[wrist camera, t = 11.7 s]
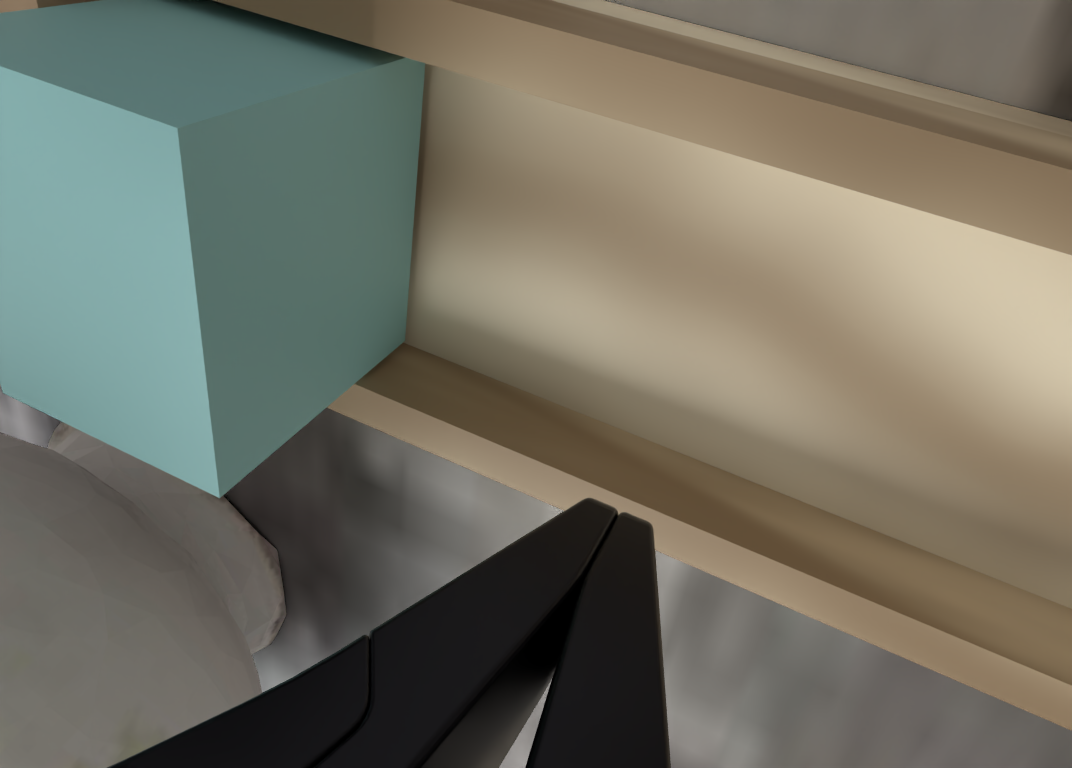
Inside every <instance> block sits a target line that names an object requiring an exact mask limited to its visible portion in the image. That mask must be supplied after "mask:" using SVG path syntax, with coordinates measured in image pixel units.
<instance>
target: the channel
mask: <svg viewBox="0 0 1072 768" xmlns="http://www.w3.org/2000/svg"><path fill="white" fill-rule="evenodd" d="M91 1H99V0H0V13H4V12H12V11H20V10H28V9H36V8H44V7H51V6H59V5H67V4H75V3H83V2H91ZM214 1H217V2H220V3H224V4H227V5H231V6H234V7H237V8H241V9H244V10H247V11H251V12H254V13H257V14H261V15H264V16H268V17H271V18H274V19H278V20H281V21H284V22H288V23H291V24H295V25H298V26H301V27H305V28H308V29H311V30H315V31H318V32H321V33H325V34H328V35H332V36H335V37H338V38H342V39H345V40H348V41H352V42H355V43H358V44H362V45H365V46H369V47H372V48H375V49H379V50H382V51H385V52H389V53H392V54H396V55H399V56H402V57H406V58H409V59H412V60H416V61H419V62H422V63H425V74H424V88H423V102H422V115H421V129H420V143H419V156H418V170H417V184H416V197H415V211H414V225H413V238H412V252H411V265H410V279H409V293H408V306H407V320H406V334H405V341H404V342H403V343H402V344H401V345H399V346H398V347H397V348H396V349H395V350H394V351H392V352H391V353H390V354H389V355H388V356H387V357H385V358H384V359H383V360H382V361H381V362H379V363H378V364H377V365H376V366H375V367H374V368H372V369H371V370H370V371H369V372H368V373H367V374H365V375H364V376H363V377H362V378H361V379H359V380H358V381H357V382H356V383H355V384H354V385H352V386H351V387H350V388H349V389H348V390H347V391H345V392H344V393H343V394H342V395H341V396H339V397H338V398H337V399H336V400H335V401H334V402H332V403H331V404H330V405H329V406H328V407H327V408H329V409H331V410H333V411H336V412H338V413H340V414H342V415H345V416H347V417H349V418H352V419H354V420H356V421H359V422H361V423H363V424H365V425H368V426H370V427H372V428H375V429H377V430H379V431H382V432H384V433H386V434H389V435H391V436H393V437H395V438H398V439H400V440H402V441H405V442H407V443H409V444H412V445H414V446H416V447H419V448H421V449H423V450H425V451H428V452H430V453H432V454H435V455H437V456H439V457H442V458H444V459H446V460H449V461H451V462H453V463H455V464H458V465H460V466H462V467H465V468H467V469H469V470H472V471H474V472H476V473H479V474H481V475H483V476H485V477H488V478H490V479H492V480H495V481H497V482H499V483H502V484H504V485H506V486H509V487H511V488H513V489H515V490H518V491H520V492H522V493H525V494H527V495H529V496H532V497H534V498H536V499H539V500H541V501H543V502H545V503H548V504H550V505H552V506H555V507H557V508H559V509H562V510H564V511H565V510H567V509H568V508H570V507H572V506H573V505H575V504H576V503H578V502H580V501H581V500H583V499H585V498H593V499H596V500H598V501H601V502H603V503H605V504H608V505H610V506H612V507H615V508H616V509H617V511H618V515H619V514H620V513H621V512H627V513H629V514H631V515H634V516H636V517H639V518H641V519H643V520H646V521H648V522H650V523H651V524H652V526H653V530H654V544H655V550H656V551H659V552H661V553H663V554H665V555H668V556H670V557H672V558H675V559H677V560H679V561H682V562H684V563H686V564H689V565H691V566H693V567H695V568H698V569H700V570H702V571H705V572H707V573H709V574H712V575H714V576H716V577H719V578H721V579H723V580H725V581H728V582H730V583H732V584H735V585H737V586H739V587H742V588H744V589H746V590H749V591H751V592H753V593H755V594H758V595H760V596H762V597H765V598H767V599H769V600H772V601H774V602H776V603H779V604H781V605H783V606H785V607H788V608H790V609H792V610H795V611H797V612H799V613H802V614H804V615H806V616H809V617H811V618H813V619H815V620H818V621H820V622H822V623H825V624H827V625H829V626H832V627H834V628H836V629H839V630H841V631H843V632H845V633H848V634H850V635H852V636H855V637H857V638H859V639H862V640H864V641H866V642H869V643H871V644H873V645H875V646H878V647H880V648H882V649H885V650H887V651H889V652H892V653H894V654H896V655H899V656H901V657H903V658H905V659H908V660H910V661H912V662H915V663H917V664H919V665H922V666H924V667H926V668H929V669H931V670H933V671H935V672H938V673H940V674H942V675H945V676H947V677H949V678H952V679H954V680H956V681H959V682H961V683H963V684H965V685H968V686H970V687H972V688H975V689H977V690H979V691H982V692H984V693H986V694H989V695H991V696H993V697H995V698H998V699H1000V700H1002V701H1005V702H1007V703H1009V704H1012V705H1014V706H1016V707H1019V708H1021V709H1023V710H1025V711H1028V712H1030V713H1032V714H1035V715H1037V716H1039V717H1042V718H1044V719H1046V720H1049V721H1051V722H1053V723H1055V724H1058V725H1060V726H1062V727H1065V728H1067V729H1069V730H1072V121H1068V120H1064V119H1060V118H1056V117H1052V116H1049V115H1045V114H1041V113H1037V112H1033V111H1029V110H1025V109H1021V108H1018V107H1014V106H1010V105H1006V104H1002V103H998V102H994V101H991V100H987V99H983V98H979V97H975V96H971V95H967V94H963V93H960V92H956V91H952V90H948V89H944V88H940V87H936V86H933V85H929V84H925V83H921V82H917V81H913V80H909V79H906V78H902V77H898V76H894V75H890V74H886V73H882V72H878V71H875V70H871V69H867V68H863V67H859V66H855V65H851V64H848V63H844V62H840V61H836V60H832V59H828V58H824V57H820V56H817V55H813V54H809V53H805V52H801V51H797V50H793V49H790V48H786V47H782V46H778V45H774V44H770V43H766V42H762V41H759V40H755V39H751V38H747V37H743V36H739V35H735V34H732V33H728V32H724V31H720V30H716V29H712V28H708V27H704V26H701V25H697V24H693V23H689V22H685V21H681V20H677V19H674V18H670V17H666V16H662V15H658V14H654V13H650V12H646V11H643V10H639V9H635V8H631V7H627V6H623V5H619V4H616V3H612V2H608V1H604V0H214Z"/></svg>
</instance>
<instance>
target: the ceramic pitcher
mask: <svg viewBox="0 0 1072 768" xmlns="http://www.w3.org/2000/svg"><path fill="white" fill-rule="evenodd" d="M285 617H286V607H285V598H284V590H283V584H282V577H281V570H280V564H279V557H278V551H277V550H276V549H275V548H274V547H273V546H272V545H271V544H270V543H269V542H268V541H267V540H266V539H265V538H263V537H262V536H261V535H260V534H259V533H258V532H257V531H256V530H255V529H254V528H253V527H252V526H251V525H250V524H249V523H248V522H247V521H246V519H245V518H244V517H243V516H242V515H241V514H240V513H239V512H238V511H237V510H236V509H235V508H234V507H233V506H232V505H231V504H230V503H229V502H228V500H227V499H226V498H225V497H224V496H222V497H221V498H218V497H216V496H214V495H212V494H210V493H208V492H206V491H204V490H202V489H200V488H198V487H196V486H193V485H191V484H189V483H187V482H185V481H183V480H181V479H179V478H177V477H175V476H173V475H171V474H169V473H167V472H165V471H163V470H161V469H158V468H156V467H154V466H152V465H150V464H148V463H146V462H144V461H142V460H140V459H138V458H136V457H134V456H132V455H130V454H128V453H125V452H123V451H121V450H119V449H117V448H115V447H113V446H111V445H109V444H107V443H105V442H103V441H101V440H99V439H97V438H95V437H93V436H90V435H88V434H86V433H84V432H82V431H80V430H78V429H76V428H74V427H72V426H70V425H68V424H66V423H64V422H61V423H60V424H59V425H58V426H57V428H56V429H55V430H54V432H53V434H52V436H51V438H50V440H49V443H48V448H44V447H41V446H38V445H34V444H31V443H28V442H25V441H23V440H20V439H17V438H14V437H12V436H9V435H6V434H3V433H1V432H0V768H107V767H109V766H111V765H113V764H116V763H118V762H120V761H122V760H124V759H126V758H128V757H131V756H133V755H135V754H137V753H139V752H141V751H143V750H145V749H147V748H149V747H151V746H154V745H156V744H158V743H160V742H162V741H164V740H166V739H168V738H170V737H172V736H174V735H176V734H179V733H181V732H183V731H185V730H187V729H189V728H191V727H193V726H195V725H197V724H199V723H202V722H204V721H206V720H208V719H210V718H212V717H214V716H216V715H218V714H220V713H222V712H224V711H227V710H229V709H231V708H233V707H235V706H237V705H239V704H241V703H243V702H245V701H247V700H249V699H251V698H253V697H255V696H257V695H259V694H261V693H262V690H261V685H260V680H259V676H258V671H257V669H256V666H255V663H254V660H253V658H252V655H251V654H253V653H255V652H257V651H259V650H261V649H263V648H265V647H267V646H269V645H270V644H271V643H272V642H273V640H274V638H275V637H276V635H277V633H278V631H279V629H280V627H281V625H282V623H283V621H284V619H285Z"/></svg>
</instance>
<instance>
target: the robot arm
mask: <svg viewBox="0 0 1072 768" xmlns="http://www.w3.org/2000/svg"><path fill="white" fill-rule="evenodd" d="M552 677H553V678H552ZM551 679H552V681H551ZM550 681H551V684H550V688H549V691H548V694H547V698H546V701H545V704H544V708H543V711H542V714H541V718H540V721H539V724H538V728H537V731H536V734H535V738H534V741H533V744H532V748H531V751H530V754H529V758H528V761H527V764H526V768H671V763H670V750H669V736H668V722H667V708H666V695H665V681H664V667H663V653H662V640H661V626H660V612H659V598H658V585H657V571H656V557H655V544H654V530H653V526H652V524H651V523H650V522H648V521H646V520H643V519H641V518H639V517H636V516H634V515H631V514H629V513H627V512H621V513H620V514H619V515H618V511H617V509H616V508H615V507H612V506H610V505H608V504H605V503H603V502H601V501H598V500H596V499H593V498H585V499H583V500H581V501H580V502H578V503H576V504H575V505H573V506H572V507H570V508H568V509H567V510H565V511H564V512H562V513H560V514H559V515H557V516H555V517H554V518H552V519H551V520H549V521H547V522H546V523H544V524H543V525H541V526H539V527H538V528H536V529H535V530H533V531H531V532H530V533H528V534H526V535H525V536H523V537H522V538H520V539H518V540H517V541H515V542H514V543H512V544H510V545H509V546H507V547H505V548H504V549H502V550H501V551H499V552H497V553H496V554H494V555H493V556H491V557H489V558H488V559H486V560H485V561H483V562H481V563H480V564H478V565H476V566H475V567H473V568H472V569H470V570H468V571H467V572H465V573H464V574H462V575H460V576H459V577H457V578H455V579H454V580H452V581H451V582H449V583H447V584H446V585H444V586H443V587H441V588H439V589H438V590H436V591H435V592H433V593H431V594H430V595H428V596H426V597H425V598H423V599H422V600H420V601H418V602H417V603H415V604H414V605H412V606H410V607H409V608H407V609H405V610H404V611H402V612H401V613H399V614H397V615H396V616H394V617H393V618H391V619H389V620H388V621H386V622H385V623H383V624H381V625H380V626H378V627H376V628H375V629H373V630H372V631H371V632H370V634H369V637H368V636H367V635H363V636H361V637H360V638H358V639H356V640H355V641H353V642H352V643H350V644H349V645H347V646H345V647H344V648H342V649H341V650H339V651H337V652H336V653H334V654H332V655H331V656H329V657H327V658H325V659H324V660H322V661H320V662H318V663H317V664H315V665H313V666H312V667H310V668H308V669H306V670H305V671H303V672H301V673H300V674H298V675H296V676H294V677H293V678H291V679H289V680H287V681H285V682H283V683H281V684H279V685H277V686H275V687H273V688H271V689H269V690H267V691H265V692H263V693H261V694H259V695H257V696H255V697H253V698H251V699H249V700H247V701H245V702H243V703H241V704H239V705H237V706H235V707H233V708H231V709H229V710H227V711H224V712H222V713H220V714H218V715H216V716H214V717H212V718H210V719H208V720H206V721H204V722H202V723H199V724H197V725H195V726H193V727H191V728H189V729H187V730H185V731H183V732H181V733H179V734H176V735H174V736H172V737H170V738H168V739H166V740H164V741H162V742H160V743H158V744H156V745H154V746H151V747H149V748H147V749H145V750H143V751H141V752H139V753H137V754H135V755H133V756H131V757H128V758H126V759H124V760H122V761H120V762H118V763H116V764H113V765H111V766H109V767H107V768H499V766H500V765H501V763H502V761H503V760H504V758H505V756H506V755H507V753H508V751H509V750H510V748H511V746H512V745H513V743H514V742H515V740H516V738H517V737H518V735H519V733H520V732H521V730H522V728H523V727H524V725H525V723H526V722H527V720H528V718H529V717H530V715H531V713H532V712H533V710H534V708H535V707H536V705H537V703H538V702H539V700H540V698H541V697H542V695H543V693H544V692H545V690H546V688H547V686H548V684H549V683H550Z"/></svg>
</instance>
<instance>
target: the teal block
mask: <svg viewBox="0 0 1072 768" xmlns="http://www.w3.org/2000/svg"><path fill="white" fill-rule="evenodd" d="M424 74H425V63H422V62H419V61H416V60H412V59H409V58H406V57H402V56H399V55H396V54H392V53H389V52H385V51H382V50H379V49H375V48H372V47H369V46H365V45H362V44H358V43H355V42H352V41H348V40H345V39H342V38H338V37H335V36H332V35H328V34H325V33H321V32H318V31H315V30H311V29H308V28H305V27H301V26H298V25H295V24H291V23H288V22H284V21H281V20H278V19H274V18H271V17H268V16H264V15H261V14H257V13H254V12H251V11H247V10H244V9H241V8H237V7H234V6H231V5H227V4H224V3H220V2H217V1H214V0H99V1H91V2H83V3H75V4H67V5H59V6H51V7H44V8H36V9H28V10H20V11H12V12H4V13H0V384H1V388H2V391H3V393H4V394H6V395H8V396H10V397H12V398H14V399H16V400H18V401H20V402H22V403H25V404H27V405H29V406H31V407H33V408H35V409H37V410H39V411H41V412H43V413H45V414H47V415H49V416H51V417H53V418H55V419H57V420H60V421H62V422H64V423H66V424H68V425H70V426H72V427H74V428H76V429H78V430H80V431H82V432H84V433H86V434H88V435H90V436H93V437H95V438H97V439H99V440H101V441H103V442H105V443H107V444H109V445H111V446H113V447H115V448H117V449H119V450H121V451H123V452H125V453H128V454H130V455H132V456H134V457H136V458H138V459H140V460H142V461H144V462H146V463H148V464H150V465H152V466H154V467H156V468H158V469H161V470H163V471H165V472H167V473H169V474H171V475H173V476H175V477H177V478H179V479H181V480H183V481H185V482H187V483H189V484H191V485H193V486H196V487H198V488H200V489H202V490H204V491H206V492H208V493H210V494H212V495H214V496H216V497H218V498H221V497H222V496H223V495H224V494H225V493H226V492H228V491H229V490H230V489H231V488H232V487H234V486H235V485H236V484H237V483H238V482H239V481H241V480H242V479H243V478H244V477H245V476H246V475H248V474H249V473H250V472H251V471H252V470H254V469H255V468H256V467H257V466H258V465H259V464H261V463H262V462H263V461H264V460H265V459H266V458H268V457H269V456H270V455H271V454H272V453H274V452H275V451H276V450H277V449H278V448H279V447H281V446H282V445H283V444H284V443H285V442H286V441H288V440H289V439H290V438H291V437H292V436H294V435H295V434H296V433H297V432H298V431H299V430H301V429H302V428H303V427H304V426H305V425H307V424H308V423H309V422H310V421H311V420H312V419H314V418H315V417H316V416H317V415H318V414H319V413H321V412H322V411H323V410H324V409H325V408H327V407H328V406H329V405H330V404H331V403H332V402H334V401H335V400H336V399H337V398H338V397H339V396H341V395H342V394H343V393H344V392H345V391H347V390H348V389H349V388H350V387H351V386H352V385H354V384H355V383H356V382H357V381H358V380H359V379H361V378H362V377H363V376H364V375H365V374H367V373H368V372H369V371H370V370H371V369H372V368H374V367H375V366H376V365H377V364H378V363H379V362H381V361H382V360H383V359H384V358H385V357H387V356H388V355H389V354H390V353H391V352H392V351H394V350H395V349H396V348H397V347H398V346H399V345H401V344H402V343H403V342H404V341H405V334H406V320H407V306H408V293H409V279H410V265H411V252H412V238H413V225H414V211H415V197H416V184H417V170H418V156H419V143H420V129H421V115H422V102H423V88H424Z"/></svg>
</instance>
